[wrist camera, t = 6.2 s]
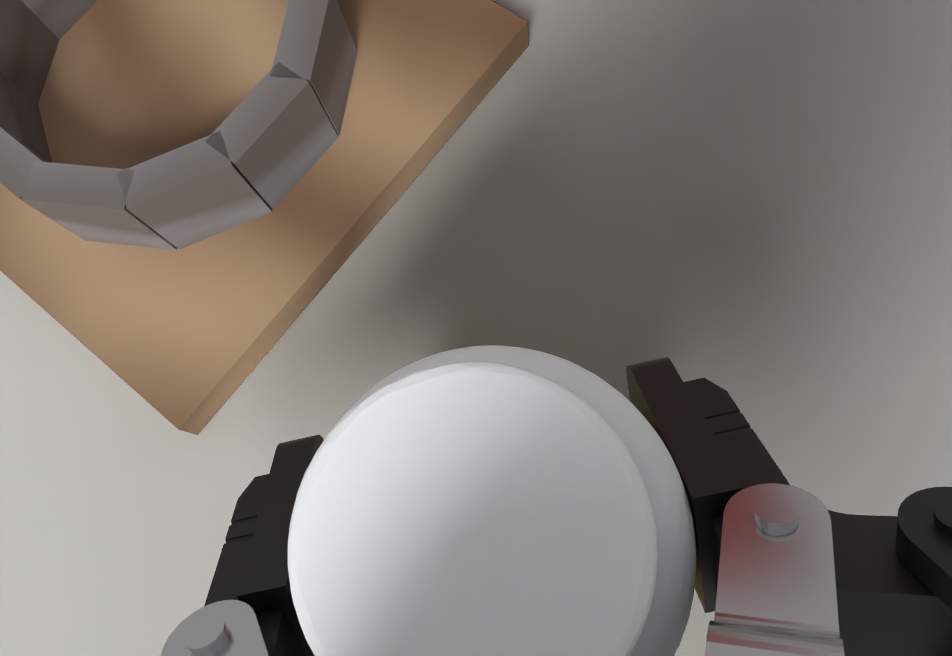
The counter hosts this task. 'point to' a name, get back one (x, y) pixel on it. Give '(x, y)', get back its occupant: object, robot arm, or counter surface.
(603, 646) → the supplement bottle
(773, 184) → the counter surface
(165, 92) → the ring collar
